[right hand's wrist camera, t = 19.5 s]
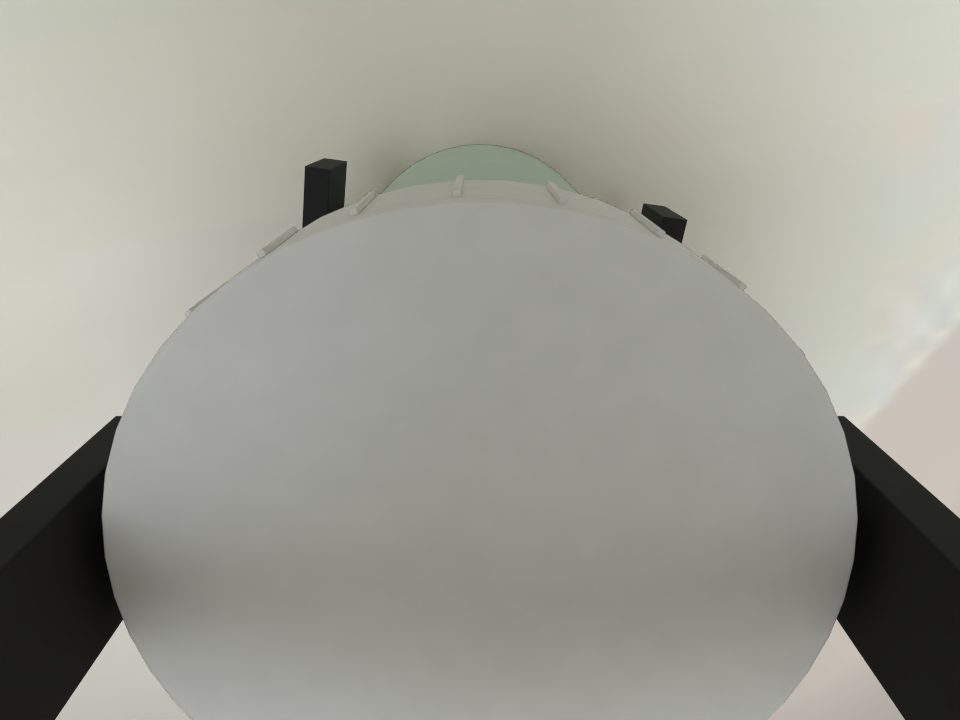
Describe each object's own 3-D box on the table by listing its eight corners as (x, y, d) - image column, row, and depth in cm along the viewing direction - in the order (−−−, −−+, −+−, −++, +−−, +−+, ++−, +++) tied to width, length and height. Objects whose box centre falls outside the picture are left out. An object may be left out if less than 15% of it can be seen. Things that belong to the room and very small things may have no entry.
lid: (725, 735, 15) (768, 848, 13) (191, 708, 15) (140, 818, 12) (871, 203, 11) (973, 231, 9) (128, 150, 10) (33, 165, 8)
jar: (319, 203, 28) (43, 392, 10) (549, 102, 27) (687, 119, 9) (421, 408, 32) (345, 815, 14) (629, 328, 30) (845, 666, 12)
